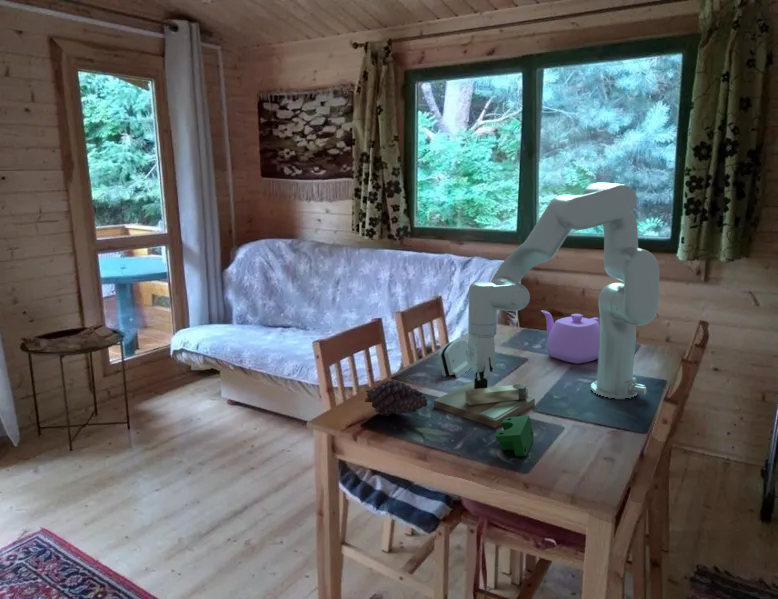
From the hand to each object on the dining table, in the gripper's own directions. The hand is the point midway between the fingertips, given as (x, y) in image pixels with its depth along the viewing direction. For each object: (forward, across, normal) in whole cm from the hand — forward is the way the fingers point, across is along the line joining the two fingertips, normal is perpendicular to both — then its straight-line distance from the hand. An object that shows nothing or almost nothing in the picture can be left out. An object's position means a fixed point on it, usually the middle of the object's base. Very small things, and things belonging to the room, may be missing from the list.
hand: (480, 392), depth 161 cm
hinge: (+4, -29, +2) cm, 30 cm away
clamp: (+4, +25, 0) cm, 25 cm away
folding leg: (+1, +3, +3) cm, 5 cm away
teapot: (+3, -32, +44) cm, 54 cm away
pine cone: (+4, +2, -24) cm, 25 cm away
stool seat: (+4, +1, +1) cm, 4 cm away
